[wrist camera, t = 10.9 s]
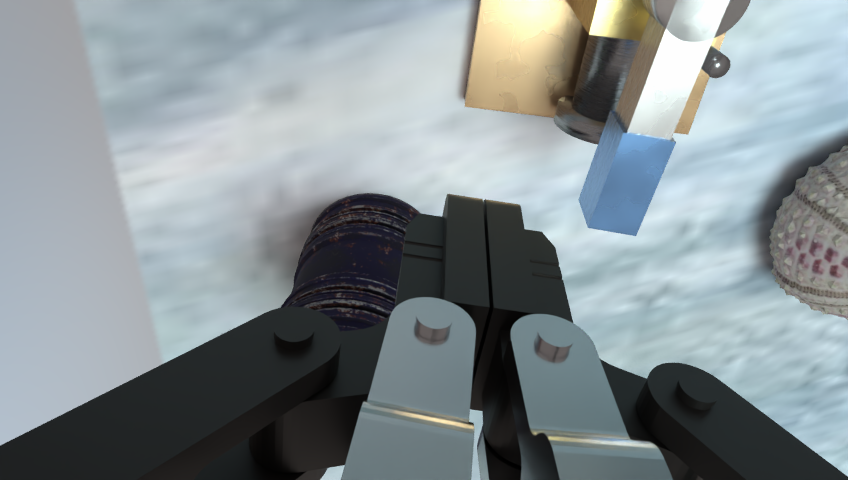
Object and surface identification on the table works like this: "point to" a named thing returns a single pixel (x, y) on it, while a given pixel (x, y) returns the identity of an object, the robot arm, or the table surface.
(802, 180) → the sea urchin shell
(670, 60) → the lever
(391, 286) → the storage jar
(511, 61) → the valve
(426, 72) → the table surface
